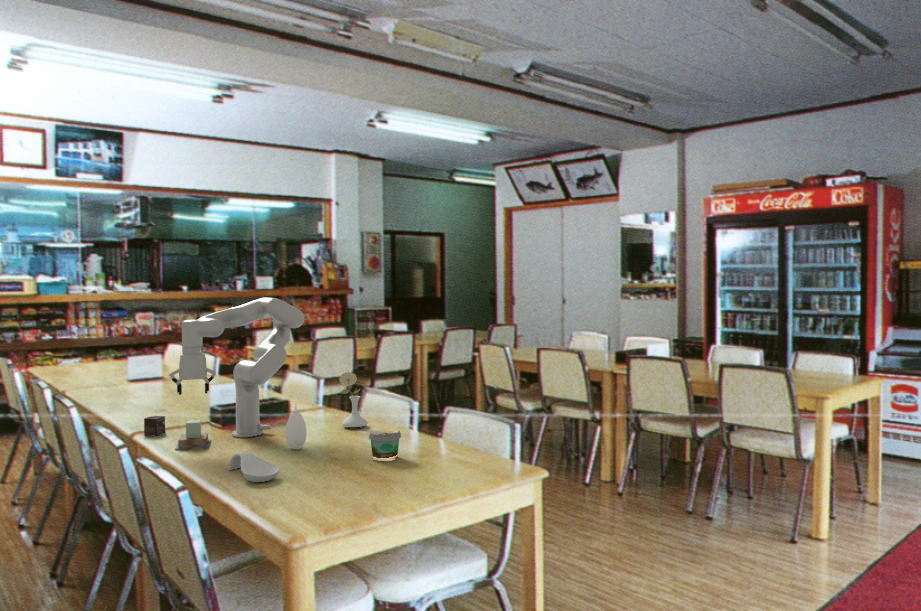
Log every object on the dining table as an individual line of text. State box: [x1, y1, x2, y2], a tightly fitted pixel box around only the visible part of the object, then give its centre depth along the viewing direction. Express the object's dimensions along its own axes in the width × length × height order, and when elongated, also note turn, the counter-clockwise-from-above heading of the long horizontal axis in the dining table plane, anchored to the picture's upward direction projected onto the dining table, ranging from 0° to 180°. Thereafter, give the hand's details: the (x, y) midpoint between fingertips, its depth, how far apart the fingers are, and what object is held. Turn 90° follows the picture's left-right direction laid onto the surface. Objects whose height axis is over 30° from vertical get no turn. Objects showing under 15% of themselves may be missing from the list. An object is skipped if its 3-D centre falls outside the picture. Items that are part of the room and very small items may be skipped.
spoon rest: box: [227, 451, 280, 483], centre depth 220 cm, size 24×12×7 cm, turn 48°
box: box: [143, 415, 166, 437], centre depth 277 cm, size 6×6×7 cm
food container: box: [368, 430, 402, 458], centre depth 240 cm, size 12×6×10 cm, turn 118°
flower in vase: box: [338, 371, 368, 428], centre depth 293 cm, size 13×11×25 cm
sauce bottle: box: [284, 404, 307, 450], centre depth 254 cm, size 8×8×18 cm
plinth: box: [174, 432, 212, 451], centre depth 259 cm, size 12×12×4 cm
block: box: [185, 419, 202, 438], centre depth 259 cm, size 5×5×6 cm
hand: (193, 393), depth 260 cm, fingers open, 9 cm apart
